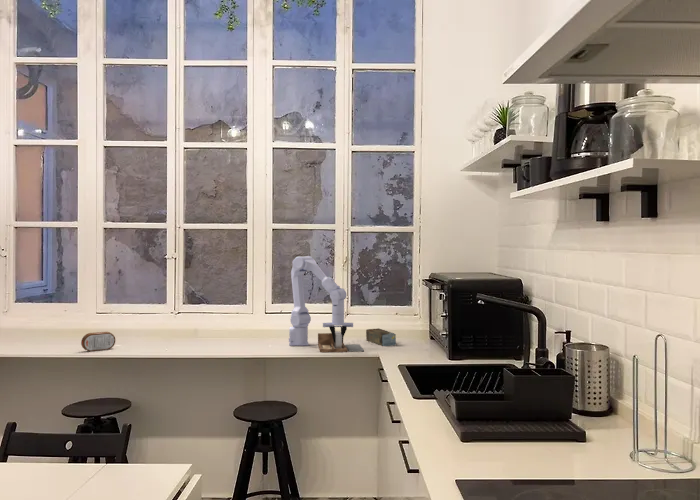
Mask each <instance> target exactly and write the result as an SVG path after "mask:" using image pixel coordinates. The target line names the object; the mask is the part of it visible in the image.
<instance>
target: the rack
mask: <svg viewBox="0 0 700 500" xmlns="http://www.w3.org/2000/svg"><path fill="white" fill-rule="evenodd" d="M322 345H331V346H330V347H331V349H323V348H322ZM333 345H334V342H333V336H332V333H331V332H327V333H325V332H323V333H322V332H320V333H319V332H317V346H318V350H319V353H347V352H348V349H347V347H346V346H345V343H344V340H343V341H342V349H335V347H334V346H333Z"/></svg>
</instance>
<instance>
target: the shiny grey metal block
mask: <svg viewBox="0 0 700 500" xmlns="http://www.w3.org/2000/svg"><path fill="white" fill-rule="evenodd" d="M334 348H335V349H343V348H342V334H341V330H340V331H337V330H335V343H334Z"/></svg>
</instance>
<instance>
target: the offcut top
mask: <svg viewBox="0 0 700 500" xmlns="http://www.w3.org/2000/svg"><path fill="white" fill-rule="evenodd" d="M322 348H323V349H332V347H331V346H330V345H322Z"/></svg>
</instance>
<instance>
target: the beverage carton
mask: <svg viewBox="0 0 700 500" xmlns="http://www.w3.org/2000/svg"><path fill="white" fill-rule="evenodd" d="M365 332H366V333H365V337H366V339H365V340H366V341H367V342H369V343H373V344H376V345H378V346H381V347H387V346H388V347H389V346H396V345H397V343H396V342H397V341H396V338H397V336H396V333H394V332H391V331H388V330H385V329H381V328H379V327H378V328H368V329H366V330H365Z"/></svg>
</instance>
